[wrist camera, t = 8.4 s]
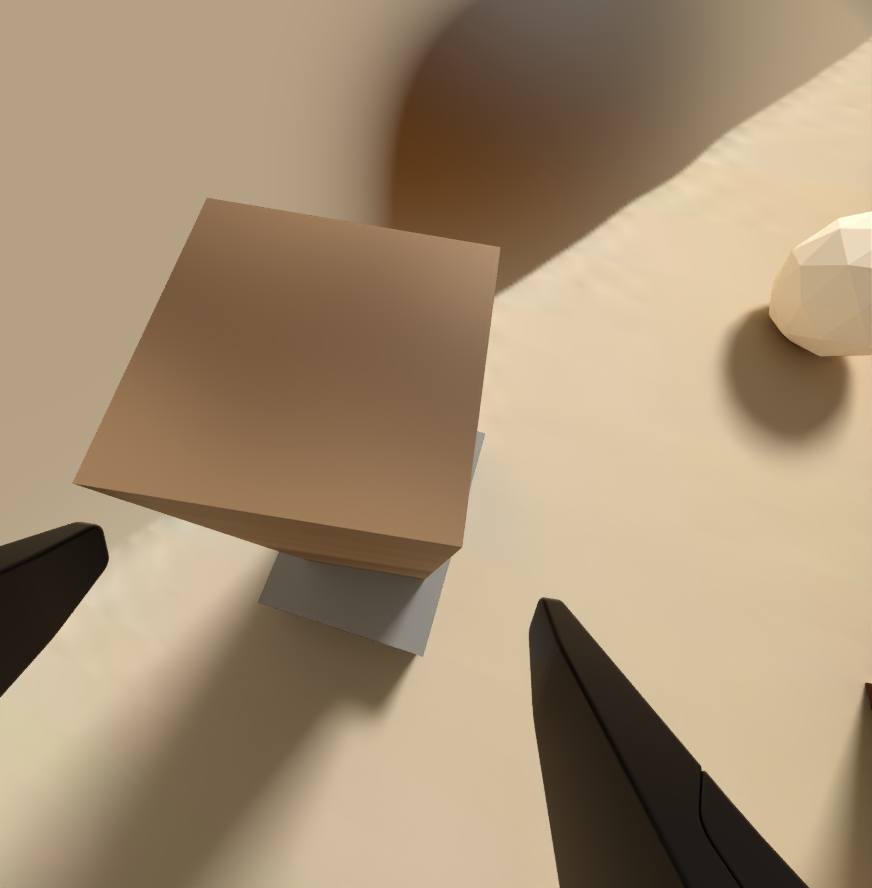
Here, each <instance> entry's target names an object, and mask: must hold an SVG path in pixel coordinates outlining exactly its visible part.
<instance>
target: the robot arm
mask: <svg viewBox="0 0 872 888" xmlns="http://www.w3.org/2000/svg"><path fill="white" fill-rule="evenodd" d="M108 561H109V554H108V550H107V545H106V541H105V536H104V532H103V529H102V528H101V527H100V526H99V525H96V524H91V523H84V522H75V523H71V524H68V525H65V526H62V527H59V528H56V529H52V530H49V531H46V532H43V533H40V534H37V535H34V536H31V537H27V538H24V539H21V540H18V541H15V542H12V543H9V544H5V545H2V546H0V697H1V696H2V695H3V694H4V693H5V692H6V691H7V689H8V688H9V687H10V686H11V685H12V684H13V683H14V682H15V680H16V679H17V678H18V677H19V676H20V675H21V674H22V673H23V672H24V670H25V669H26V668H27V667H28V666H29V665H30V664H31V663H32V661H33V660H34V659H35V658H36V657H37V656H38V655H39V654H40V652H41V651H42V650H43V649H44V648H45V647H46V646H47V644H48V643H49V642H50V641H51V640H52V639H53V637H54V636H55V635H56V634H57V632H58V631H59V630H60V628H61V627H62V626H63V625H64V623H65V622H66V621H67V619H68V618H69V617H70V615H71V614H72V613H73V611H74V610H75V609H76V607H77V606H78V605H79V603H80V602H81V601H82V599H83V598H84V597H85V595H86V594H87V593H88V591H89V590H90V589H91V587H92V586H93V585H94V583H95V582H96V581H97V579H98V578H99V577H100V575H101V574H102V573H103V571H104V570H105V568H106V566H107V564H108ZM529 650H530V669H531V688H532V706H533V718H534V726H535V733H536V739H537V745H538V752H539V758H540V765H541V771H542V777H543V784H544V790H545V796H546V803H547V809H548V816H549V822H550V828H551V835H552V841H553V847H554V854H555V860H556V866H557V873H558V879H559V886H560V888H809V887H808V886H807V885H806V884H805V883H804V882H803V881H802V880H801V878H800V877H799V876H798V875H797V874H796V873H795V872H794V871H793V870H792V869H791V868H790V866H789V865H788V864H787V863H786V862H785V861H784V860H783V859H782V858H781V857H780V856H779V855H778V853H777V852H776V851H775V850H774V849H773V848H772V847H771V846H770V845H769V844H768V843H767V842H766V840H765V839H764V838H763V837H762V836H761V835H760V834H759V833H758V832H757V830H756V829H755V828H754V827H753V826H752V825H751V824H750V822H749V821H748V820H747V819H746V818H745V817H744V815H743V814H742V813H741V812H740V811H739V810H738V809H737V807H736V806H735V805H734V804H733V803H732V802H731V801H730V799H729V798H728V797H727V796H726V795H725V794H724V792H723V791H722V790H721V789H720V788H719V786H718V785H717V784H716V783H715V782H714V781H713V779H712V778H711V777H710V776H709V775H708V773H707V772H705V771H701V770H702V769H701V766H700V764H699V763H698V762H697V761H696V759H695V758H694V757H693V756H692V755H691V754H690V752H689V751H688V750H687V749H686V748H685V746H684V745H683V744H682V743H681V742H680V741H679V739H678V738H677V737H676V736H675V735H674V733H673V732H672V731H671V730H670V729H669V727H668V726H667V725H666V724H665V723H664V722H663V720H662V719H661V718H660V717H659V716H658V714H657V713H656V712H655V711H654V710H653V708H652V707H651V706H650V705H649V704H648V703H647V701H646V700H645V699H644V698H643V697H642V695H641V694H640V693H639V692H638V691H637V690H636V688H635V687H634V686H633V685H632V684H631V682H630V681H629V680H628V679H627V678H626V676H625V675H624V674H623V673H622V672H621V671H620V669H619V668H618V667H617V666H616V665H615V663H614V662H613V661H612V660H611V659H610V658H609V656H608V655H607V654H606V653H605V652H604V650H603V649H602V648H601V647H600V646H599V644H598V643H597V642H596V641H595V640H594V639H593V637H592V636H591V635H590V634H589V633H588V631H587V630H586V629H585V628H584V627H583V626H582V624H581V623H580V622H579V621H578V620H577V618H576V617H575V616H574V615H573V614H572V612H571V611H570V610H569V609H568V608H567V607H566V605H565V604H564V603H563V602H562V601H560V600H557V599H551V598H545V597H543V598H541V599H540V600H539V602H538V604H537V607H536V610H535V613H534V616H533V619H532V622H531V625H530V629H529Z"/></svg>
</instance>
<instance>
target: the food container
mask: <svg viewBox="0 0 872 888" xmlns="http://www.w3.org/2000/svg"><path fill="white" fill-rule="evenodd" d="M866 687H867V691H868V696H869V700H870V705H871V709H872V684H870V683H866Z"/></svg>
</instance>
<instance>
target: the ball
mask: <svg viewBox="0 0 872 888" xmlns="http://www.w3.org/2000/svg"><path fill="white" fill-rule="evenodd" d="M769 316H770V317H771V319H772V320H773V322H774V323H775V324H776V326H777V327H778V328H779V330H780V331H781V333H782V334H783V335H784V336H786V337H787V338H788V339H789V340H790V341H791V342H793V343H795V344H797V345H799V346H801V347H803V348H805V349H806V350H808V351H810V352H812V353H814V354H816V355H818V356H857V355H872V212H867V213H862V214H857V215H853V216H848V217H843V218H839V219H837V220H836V221H834V222H833V223H831V224H830V225H828V226H827V227H825V228H824V229H822V230H821V231H819V232H818V233H816V234H815V235H813V236H812V237H810V238H809V239H807V240H806V241H804V242H803V243H801V244H800V245H798V246H797V247H795V248H794V249H792V250H791V252H790V254H789V256H788V257H787V259H786V261H785V262H784V264H783V266H782V268H781V269H780V271H779V273H778V274H777V276H776V278H775V280H774V283H773V287H772V291H771V298H770V308H769Z"/></svg>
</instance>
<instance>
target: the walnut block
mask: <svg viewBox="0 0 872 888" xmlns="http://www.w3.org/2000/svg"><path fill="white" fill-rule="evenodd" d="M499 254H500V247H495V246H490V245H484V244H477V243H472V242H465V241H459V240H454V239H448V238H442V237H436V236H430V235H424V234H418V233H413V232H406V231H400V230H395V229H389V228H383V227H377V226H371V225H365V224H359V223H353V222H347V221H341V220H335V219H329V218H323V217H318V216H312V215H305V214H300V213H294V212H287V211H282V210H276V209H270V208H264V207H258V206H252V205H246V204H240V203H234V202H228V201H222V200H217V199H211V198H207V199H206V201H205V203H204V205H203V208H202V210H201V212H200V214H199V216H198V218H197V220H196V223H195V225H194V227H193V229H192V231H191V233H190V235H189V238H188V239H187V242H186V244H185V246H184V248H183V250H182V252H181V254H180V256H179V259H178V261H177V263H176V265H175V267H174V269H173V271H172V273H171V275H170V278H169V280H168V282H167V284H166V286H165V289H164V290H163V292H162V295H161V297H160V299H159V301H158V303H157V305H156V307H155V309H154V312H153V314H152V316H151V318H150V320H149V322H148V324H147V326H146V328H145V331H144V333H143V335H142V337H141V339H140V341H139V344H138V345H137V348H136V350H135V352H134V354H133V356H132V358H131V360H130V363H129V365H128V367H127V369H126V371H125V373H124V375H123V377H122V379H121V382H120V384H119V386H118V388H117V390H116V392H115V394H114V397H113V398H112V401H111V403H110V405H109V407H108V409H107V411H106V413H105V415H104V418H103V420H102V422H101V424H100V426H99V428H98V430H97V432H96V435H95V437H94V439H93V441H92V443H91V445H90V448H89V450H88V452H87V454H86V456H85V458H84V460H83V462H82V464H81V467H80V469H79V471H78V473H77V475H76V477H75V479H74V481H73V484H76V485H79V486H82V487H85V488H88V489H91V490H94V491H97V492H100V493H104V494H106V495H109V496H112V497H115V498H119V499H121V500H125V501H127V502H131V503H134V504H137V505H140V506H143V507H146V508H149V509H152V510H155V511H158V512H161V513H164V514H167V515H170V516H173V517H176V518H179V519H182V520H185V521H188V522H191V523H194V524H197V525H201V526H204V527H207V528H210V529H213V530H216V531H219V532H222V533H225V534H228V535H231V536H234V537H237V538H240V539H243V540H246V541H249V542H252V543H255V544H258V545H261V546H264V547H267V548H271V549H274V550H277V551H280V552H283V553H286V554H289V555H292V556H295V557H298V558H301V559H304V560H307V561H313V562H319V563H325V564H331V565H337V566H343V567H350V568H356V569H362V570H368V571H374V572H380V573H386V574H393V575H399V576H405V577H411V578H417V579H423V580H425V579H426V578H427V577H428V576H430V575H431V574H432V573H433V572H434V571H435V570H436V569H438V568H439V567H440V566H441V565H442V564H443V563H445V562H446V561H447V560H448V559H449V558H450V557H451V556H453V555H454V554H455V553H456V552H457V551H458V550H459V549H461V548H462V545H463V537H464V529H465V521H466V513H467V505H468V497H469V490H470V482H471V474H472V466H473V458H474V450H475V443H476V435H477V427H478V419H479V411H480V403H481V395H482V388H483V380H484V372H485V364H486V356H487V348H488V341H489V333H490V325H491V317H492V309H493V301H494V294H495V286H496V278H497V269H498V262H499Z"/></svg>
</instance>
